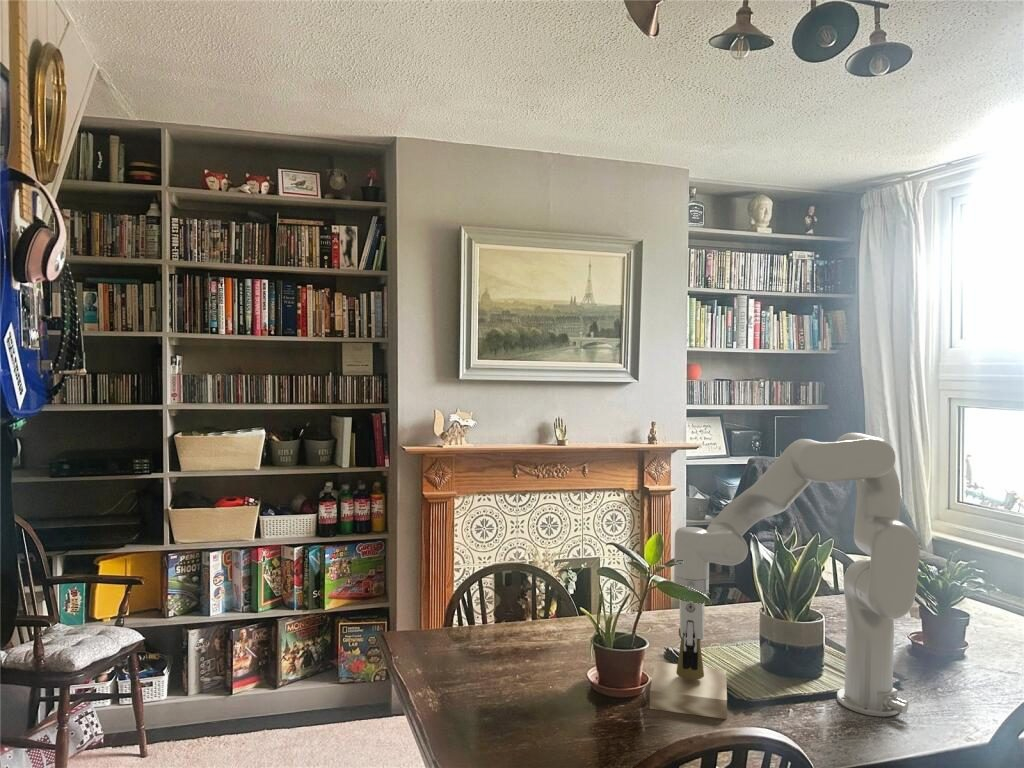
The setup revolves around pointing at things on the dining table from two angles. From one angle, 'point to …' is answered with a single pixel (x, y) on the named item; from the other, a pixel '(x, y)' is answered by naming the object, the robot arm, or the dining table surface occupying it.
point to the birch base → (689, 692)
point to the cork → (689, 672)
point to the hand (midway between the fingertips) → (690, 663)
